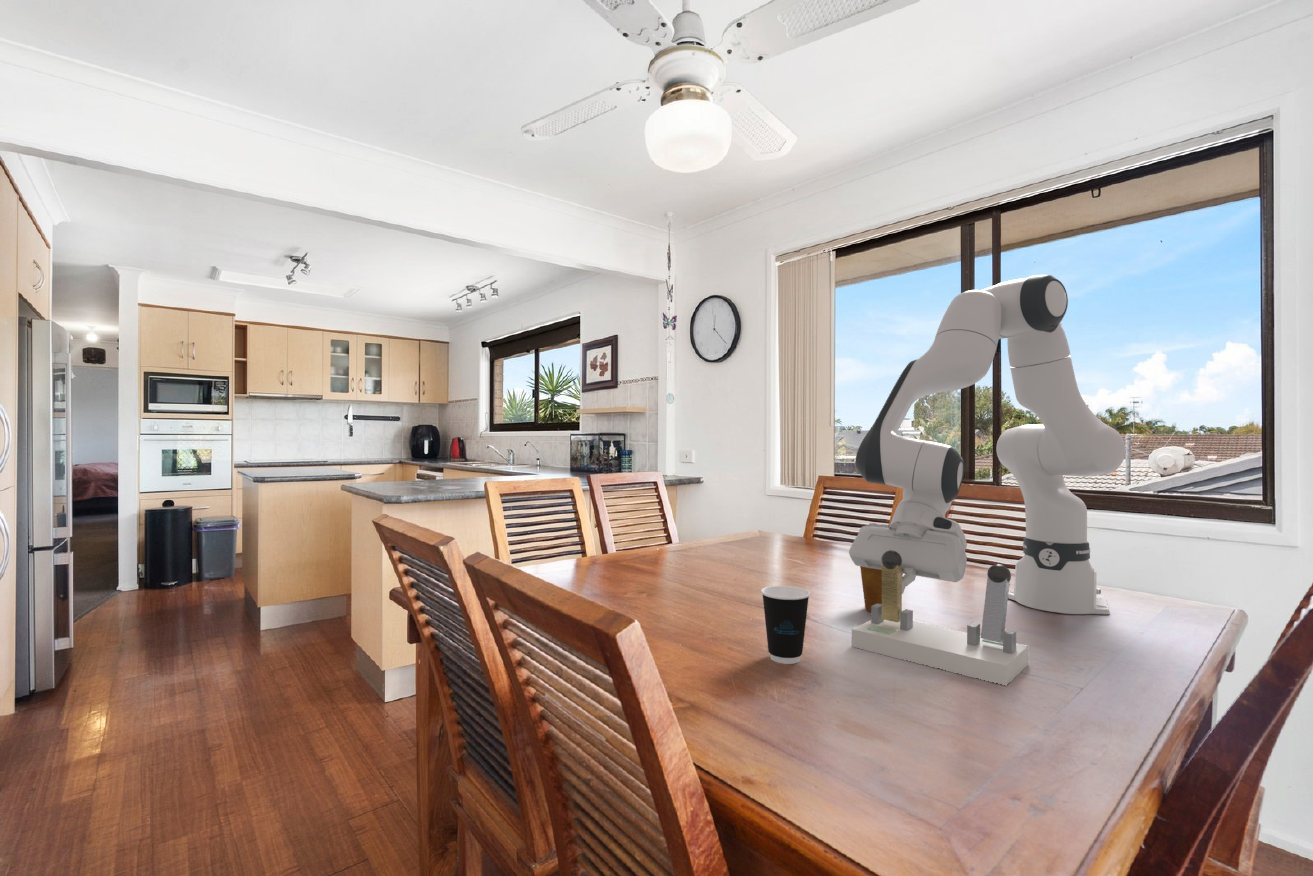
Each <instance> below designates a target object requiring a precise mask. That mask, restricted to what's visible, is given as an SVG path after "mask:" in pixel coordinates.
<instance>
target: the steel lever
mask: <svg viewBox="0 0 1313 876" xmlns="http://www.w3.org/2000/svg"><path fill="white" fill-rule="evenodd" d="M986 575H987V580H986V586H985V587H986V588H985V596H984V597H985V598H984V605H983V606H984V607H983V613H982V614H983V615H982V622H981V630H980V636H981V638H982V639H984V640H989V641H994V642H999V643H1003V632H1005V631H1006V630H1005V629H1006V622H1007V611H1008V601H1009V598H1008V594H1009V592H1010V584H1011V579H1012V573H1011V570H1010V569H1009V567H1008V566H1005V565H1003V564H999V563H997V564H992V565H991V566H990V567H988V569H987V572H986Z"/></svg>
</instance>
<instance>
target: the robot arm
mask: <svg viewBox="0 0 1313 876" xmlns="http://www.w3.org/2000/svg"><path fill="white" fill-rule="evenodd" d="M1068 299H1069V298H1068V293H1067V290H1066V287H1065V285H1064V284H1063V283H1062V281H1060V280H1059V279H1058V278H1056V277H1055V276H1053V274H1052V275H1051V274H1035V275H1031V276H1028V277H1026V278H1025V277H1024V278H1018V279H1012V280H1008V281H1003V282H999V283H997V284H995V285H992V286H988V287H986V288H984V289H981V290H979V289H971V290H966V291H964V292H961V293H959V294H958V295H956V296H955V297H954V298H953V299H952V301H951V302H950V304H949V305H948V306H947V309H946V311H945V313H944V315H943V316H942V319H941V322H940V324H939V325H938V328H937V331H936V334H935V336H934V341H933V342H932V344H931V346H930V347H929V349H928V350H927V351H926V352H925V353H924V354H923V355H922V356H920V357H919V358H917V359H914V360H912V361H909V363H908V364H907V365H905V368H904V369H903V371H902V372H901V373H900V375H899V377H898V379H897V380H896V383H895V384H894V386H893V387H892V389H891V391H890V393H889V394H888V397H887V399H886V400H885V402H884V404H883V406H882V408H881V410H880V412H879V413H878V415H877V416H876V418H875V421H874V422H873V424H872V426H871V427H870V429H869V430H868V431H867V433H866V434H865V436H864V438H863V439H862V441H861V442H860V444H859V446H858V448H857V451H856V454H855V455H856V456H855V463H854V464H855V467H856V469H857V471H858V473H859V474H860V476H861V477H862V478H863V480H864V481H866V482H867V483H871V484H877V485H883V486H886V485H888V486H892V487H896V488H901V489H903V491H902V498H901V501H899V503H898V504H897V506H896V508H895V511H894V514H893V516H892V519H891V522H890V523H889V524H879V523H875V522H871V523H870V522H869V524H866V525H863V526H861V527H860V529H859V531H858V534H857V535H856V537H855V539H854V540H853V542H852V544H851V546H850V548H849V550H848V555H849V557H850V559H851V561H852V562H853V564H854V565H855V566H859V567H860V566H862V567H868V568H874V569H880V570H882V561H881V558H882V555H883V554H884V553H885V552H886V551H889V550H893V551H896V552H898V553H899V554H900V556H901V558H902V573H903V574H904V575H902V595H903V594H904V592H905V589H906V587H908V586H910V584H912V582H914V581H915V580H916V577H921V578H922V577H923V578H928V579H933V580H934V579H935V580H938V581H945V582H951V583H958V582H960V581H961V580H962V579H963V578H964V577H965V572H966V568H967V558H968V556H967V553H966V549H967V546H968V544H967V537H966V536H965V533H964V531H963V529H962V526H960V523H958V522H957V521H955V520H952V519H950V518H947V517H946V514H947V512H948V511H949V509H950V508H951V506H952V502H953V501H954V500H955V499H956V498H957V497H958V496H959V493H960V490H961V486H962V483H963V479H964V476H965V471H966V466H965V465H966V464H965V461H964V459H963V457H962V456H961V454H960V453H959V451H958V450H957V449H956V448H955V447H954V446H951V445H948V444H944V443H940V442H937V441H930V440H923V439H919V438H914V437H908V436H903V435H899V434H897V433H898V431H899V429H900V428H901V425H902V424H903V421H904V420H905V418H906V416H907V415H908V413H909V411H910V408H911V406H913V404H914V403H915V402H916V401H918V400H919V399H921V398H924V397H926V396H929V395H934V394H937V393H942V392H943V393H945V392H952V391H958V390H962V389H965V388H969V387H970V386H973V385H975V384H976V383H979V382H980V381H981V380H982V379H983V378H985V376H986V375H987V374H988V372H989V371H990V369H991V366H992V364H993V361H994V358H995V355H996V351H997V348H998V343H999V340H1001V339H1002V340H1003V339H1004V340H1005V339H1007V355H1008V361H1009V367H1010V375H1011V379H1012V382H1013V383H1012V384H1013V388H1014V390H1013V391H1014V393H1015V398H1016V401H1017V402H1018V404H1019V405H1021V406H1022V407H1023V408H1025V409H1027V410H1029V411H1031V412H1032V413H1033V414H1034V415H1035V416H1036V417H1037V418H1038V419H1039V421H1040V422H1041V423H1038V424H1035V423H1033V424H1030V423H1029V424H1024V425H1023V424H1022V425H1019V426H1015V427H1010V428H1008V429H1005V430H1004V431H1003V432H1002V433H1001V435H999V438H998V440H997V443H996V456H997V458H998V460H999V462H1000V464H1001V465H1002V466H1003V467H1005V468H1006V469H1007V470H1008V471H1009V472H1010V473H1011V475H1013V478H1014V479H1015V481H1016V483H1017V484H1018V487H1019V489H1020V491H1021V494H1022V498H1023V502H1024V512H1025V513H1024V514H1025V537H1023V541H1022V548H1023V549H1022V550H1023V551H1022V552H1023V553H1022V554H1024V555H1023V557H1022V558H1020V559H1019V560H1017V561H1016V562H1015V569H1014V570H1015V571H1014V588H1013V590H1012V591H1009V594H1008V600H1013V601H1016V602H1017V603H1019V604H1020V605H1023V606H1025V607H1028V608H1031V609H1035V610H1041V611H1046V612H1052V613H1059V614H1070V615H1093V614H1094V615H1110V608H1109V603H1108V601H1107V597H1106V595H1104V594H1101V593H1102V592H1101V591H1102V590H1101V588H1099V587H1097V571H1095V569H1094V568H1093V566H1092V565H1091V563H1090V560H1089V559H1091V548H1090V543H1089V542H1088V509H1087V505H1086V504H1085V502H1084V501H1083V500H1082V499H1081V498H1080V497H1078V495H1077V496H1076V494H1074V493H1073V492H1071V490H1070V489H1069V488H1068V486H1067V485H1066V483H1065V480H1064V476H1065V477H1066V476H1067V477H1068V476H1069V477H1081V478H1082V477H1085V478H1087V477H1096V476H1103V475H1109V474H1112V473H1115V472H1116V471H1117V470H1118V469H1119V468H1120V467H1121V465H1122V464H1123V462H1124V460H1125V457H1126V451H1127V450H1126V445H1125V441H1124V439H1123V437H1122V436H1121V434H1120V433H1119V431H1118V430H1117V429H1115V428H1114V427H1111V426H1110V425H1108V424H1106V423H1105V422H1103V421H1102V420H1101V419H1100V418H1098V417H1097V416H1096V415H1095V413H1094V412H1093V411H1092V410H1091V409H1090V407H1089V406H1088V404H1086V402H1085V400H1084V399H1083V396H1082V394H1081V393H1080V391H1079V387H1078V384H1077V380H1076V375H1075V371H1074V370H1075V369H1074V365H1073V361H1072V357H1071V350H1070V347H1069V343H1068V339H1067V336H1066V332H1065V330H1064V326H1063V325H1062V323H1061V322H1062V321H1063V319H1064V317H1065V316H1066V313H1067V310H1068V305H1069V300H1068Z"/></svg>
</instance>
